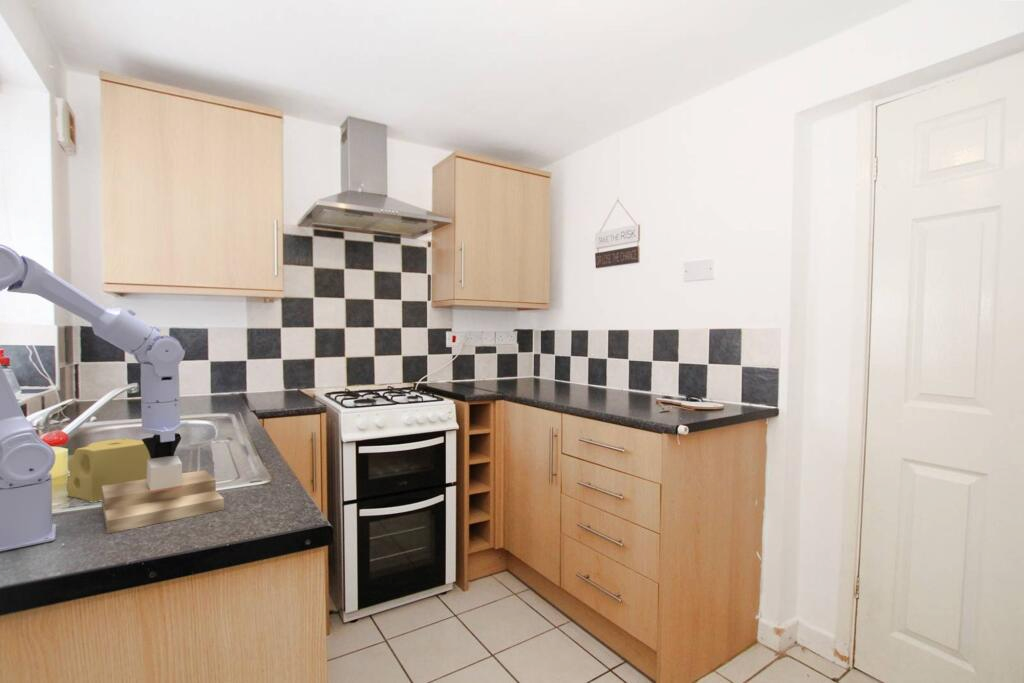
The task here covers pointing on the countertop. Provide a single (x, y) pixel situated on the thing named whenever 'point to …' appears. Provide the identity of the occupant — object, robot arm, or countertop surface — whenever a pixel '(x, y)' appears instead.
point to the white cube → (164, 473)
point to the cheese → (106, 466)
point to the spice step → (158, 502)
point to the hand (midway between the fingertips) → (162, 475)
